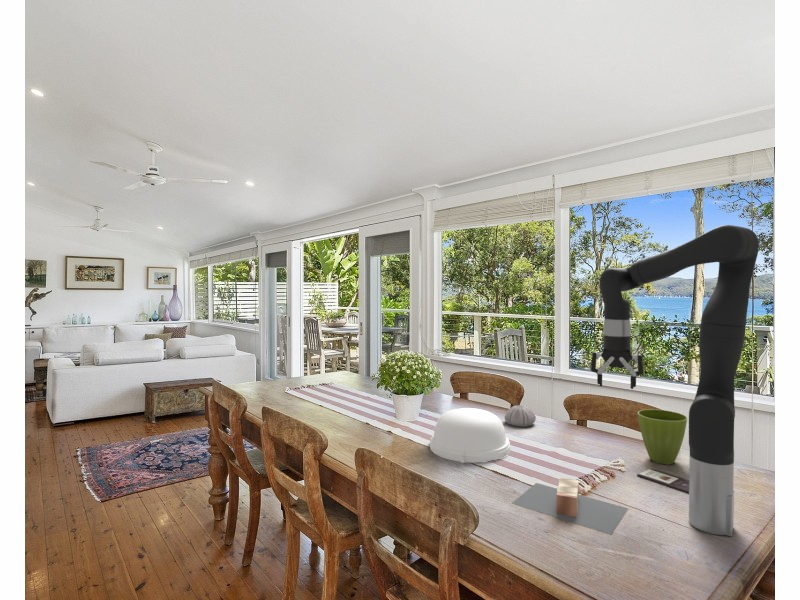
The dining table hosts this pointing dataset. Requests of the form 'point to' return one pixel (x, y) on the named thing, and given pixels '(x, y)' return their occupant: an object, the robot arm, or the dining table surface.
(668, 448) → the flower pot
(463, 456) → the dome cover
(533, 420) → the sea urchin shell
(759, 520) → the dining table surface
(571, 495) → the birch block
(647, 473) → the chocolate bar
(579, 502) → the rubber mat
